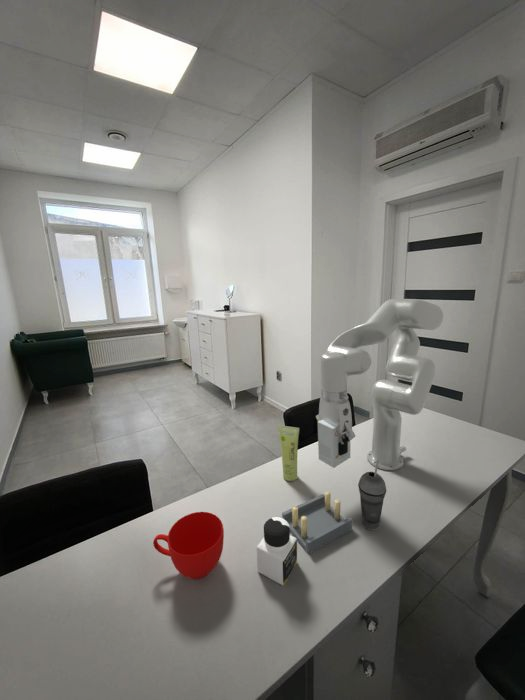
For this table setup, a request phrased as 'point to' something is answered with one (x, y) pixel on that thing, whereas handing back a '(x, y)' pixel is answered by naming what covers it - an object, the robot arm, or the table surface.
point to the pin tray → (316, 522)
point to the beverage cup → (371, 498)
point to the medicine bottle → (277, 551)
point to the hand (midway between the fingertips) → (334, 447)
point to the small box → (330, 445)
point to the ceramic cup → (194, 544)
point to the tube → (289, 451)
